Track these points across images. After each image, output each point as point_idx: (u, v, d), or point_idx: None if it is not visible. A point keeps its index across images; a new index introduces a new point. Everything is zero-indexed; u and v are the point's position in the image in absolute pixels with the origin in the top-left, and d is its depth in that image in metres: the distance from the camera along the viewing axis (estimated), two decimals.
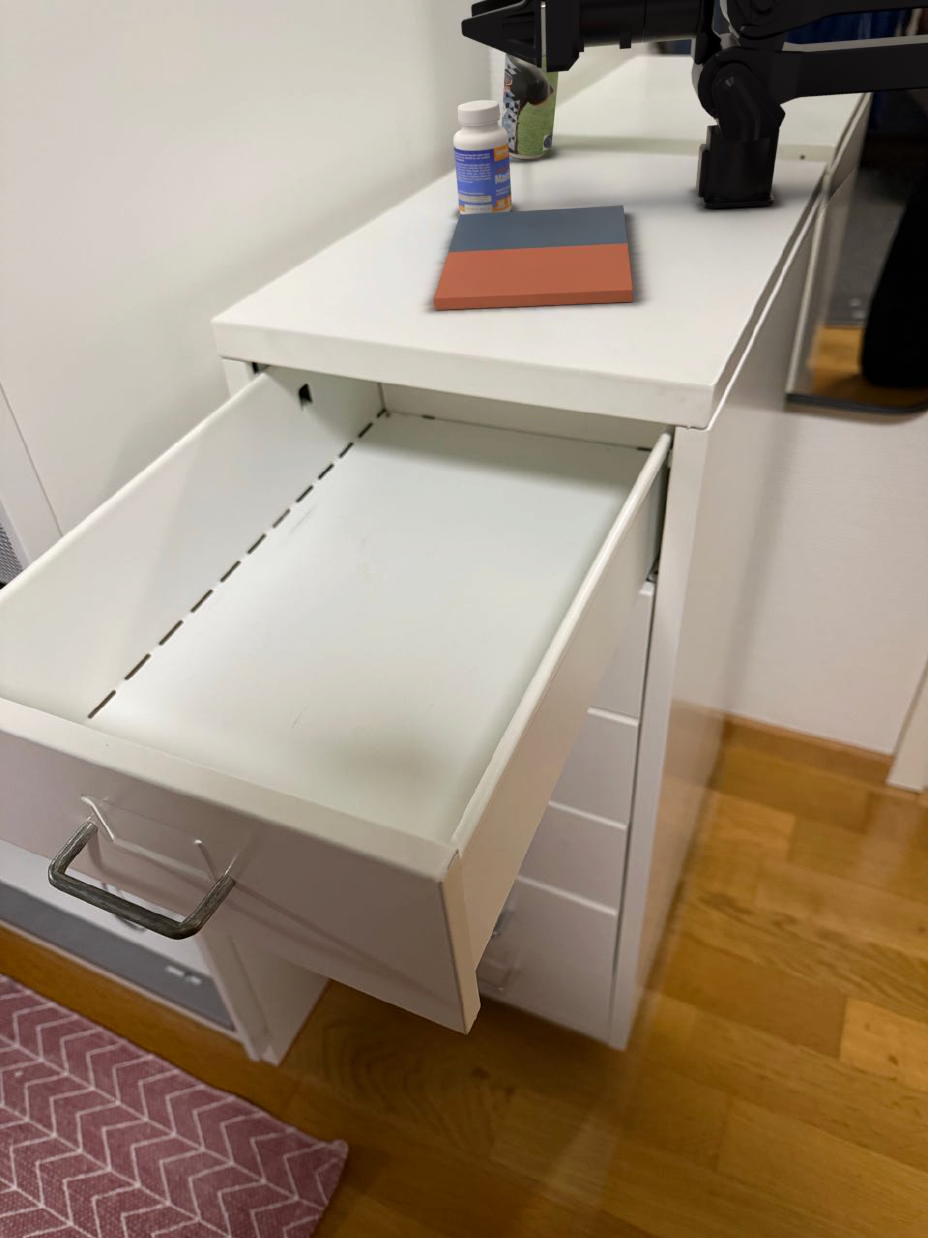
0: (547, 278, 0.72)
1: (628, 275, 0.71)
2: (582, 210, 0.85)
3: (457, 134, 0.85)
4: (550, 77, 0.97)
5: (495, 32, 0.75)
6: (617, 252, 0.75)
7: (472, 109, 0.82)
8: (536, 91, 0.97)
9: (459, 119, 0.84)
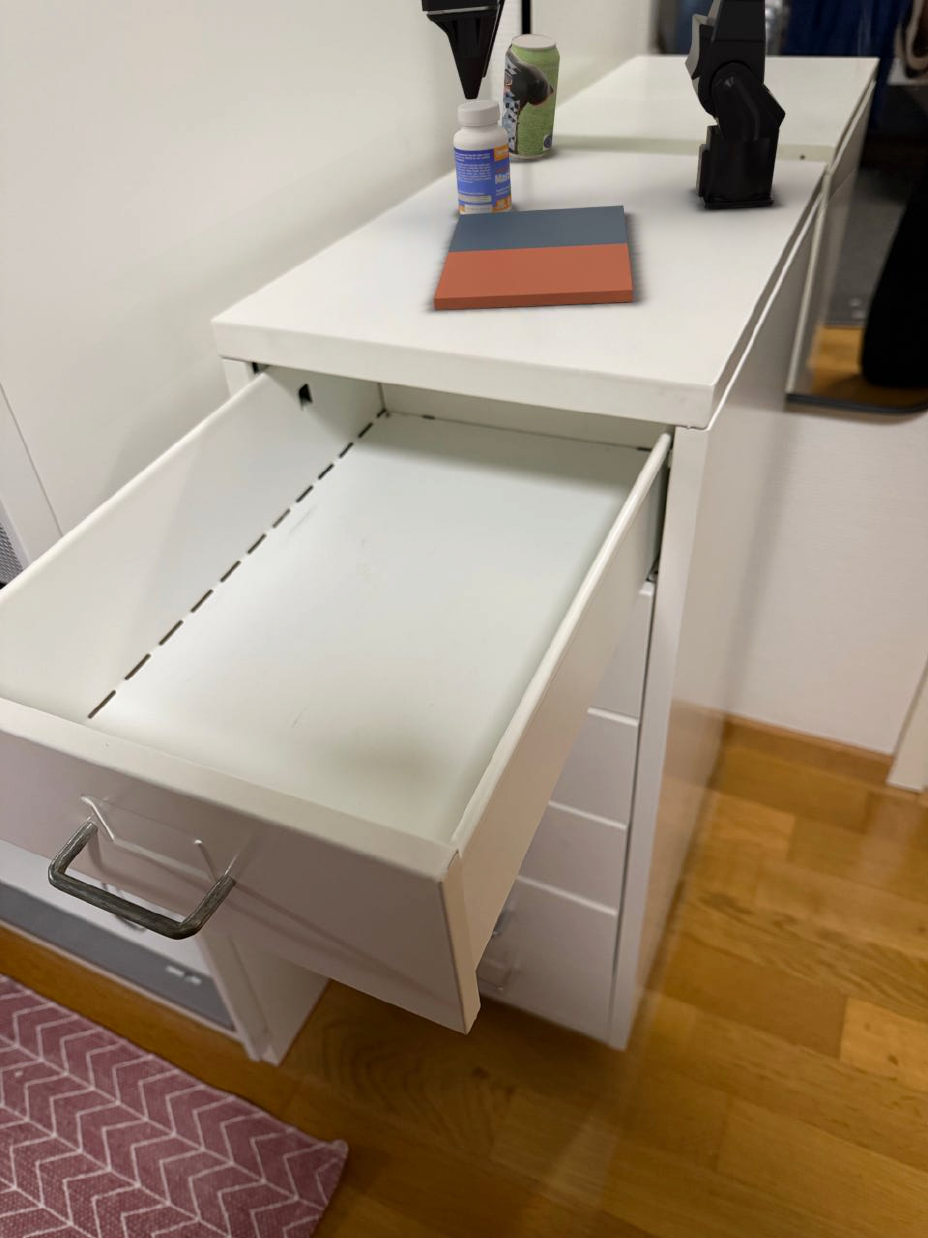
0: (547, 278, 0.72)
1: (628, 275, 0.71)
2: (582, 210, 0.85)
3: (457, 134, 0.85)
4: (550, 77, 0.97)
5: (472, 62, 0.76)
6: (617, 252, 0.75)
7: (472, 109, 0.82)
8: (536, 91, 0.97)
9: (459, 119, 0.84)
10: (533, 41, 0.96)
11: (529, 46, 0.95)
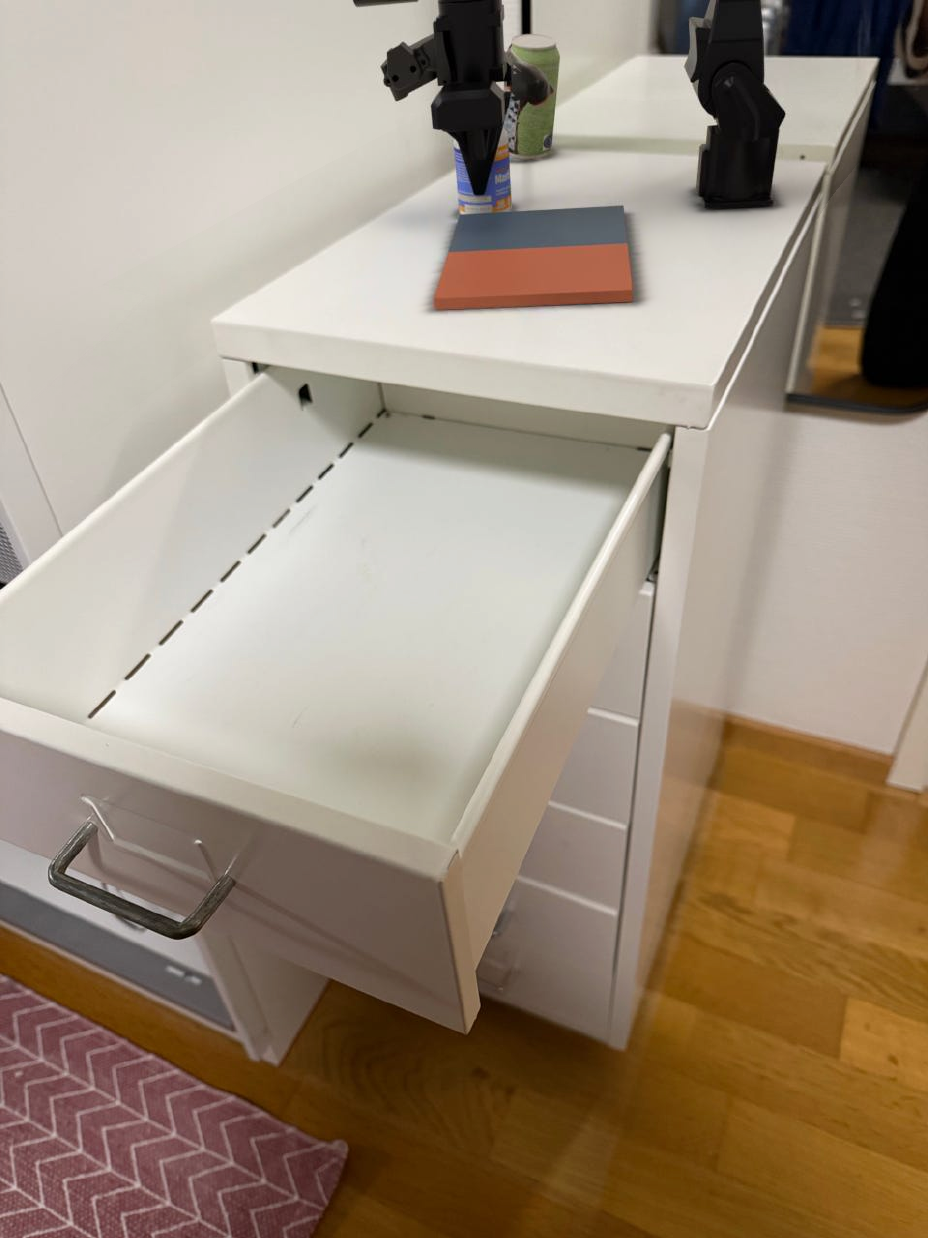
0: (547, 278, 0.72)
1: (628, 275, 0.71)
2: (582, 210, 0.85)
3: None
4: (550, 77, 0.97)
5: (480, 164, 0.83)
6: (617, 252, 0.75)
7: None
8: (536, 91, 0.97)
9: None
10: (533, 41, 0.96)
11: (529, 46, 0.95)
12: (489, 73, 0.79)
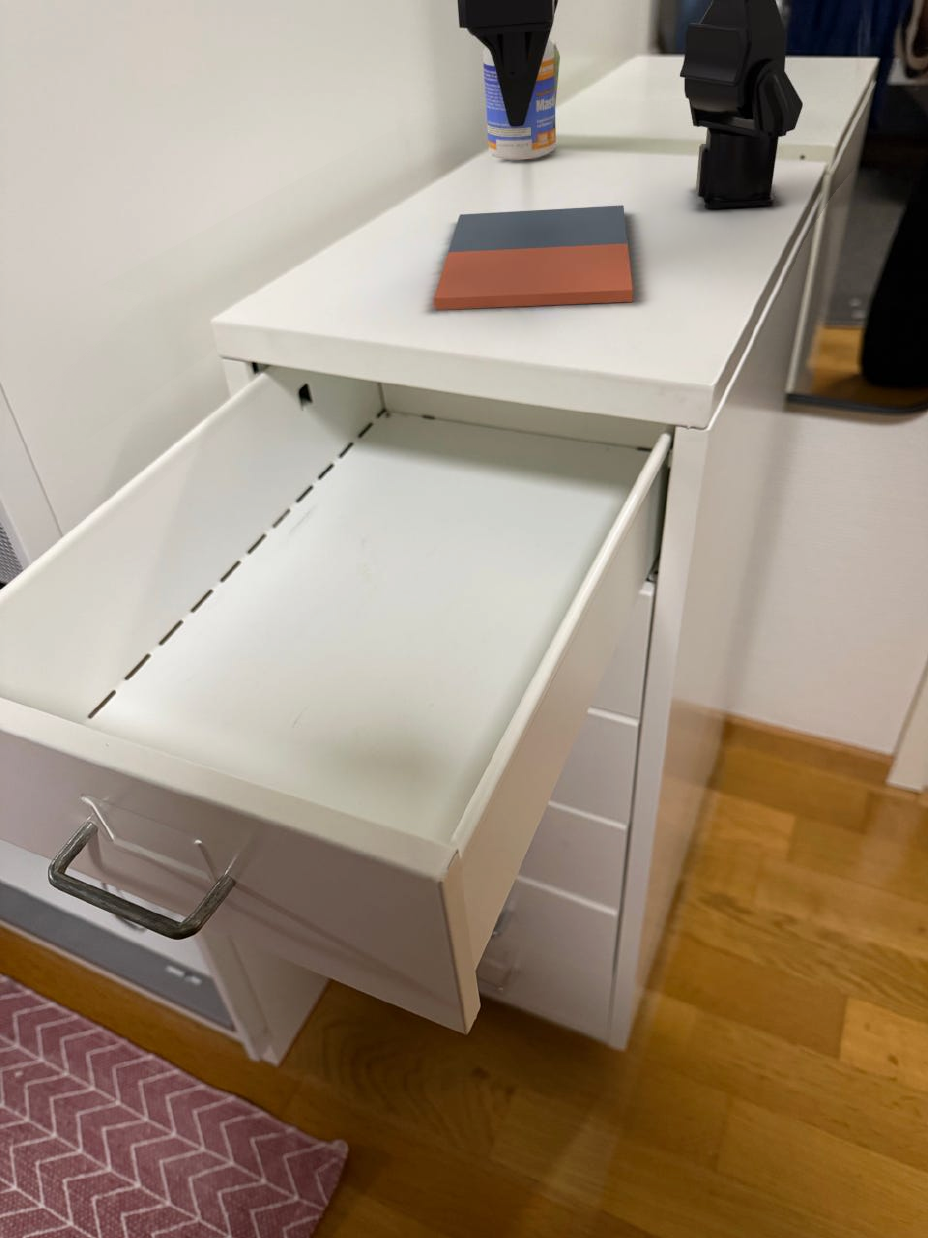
0: (547, 278, 0.72)
1: (628, 275, 0.71)
2: (582, 210, 0.85)
3: None
4: None
5: (519, 83, 0.64)
6: (617, 252, 0.75)
7: None
8: None
9: None
10: None
11: None
12: None
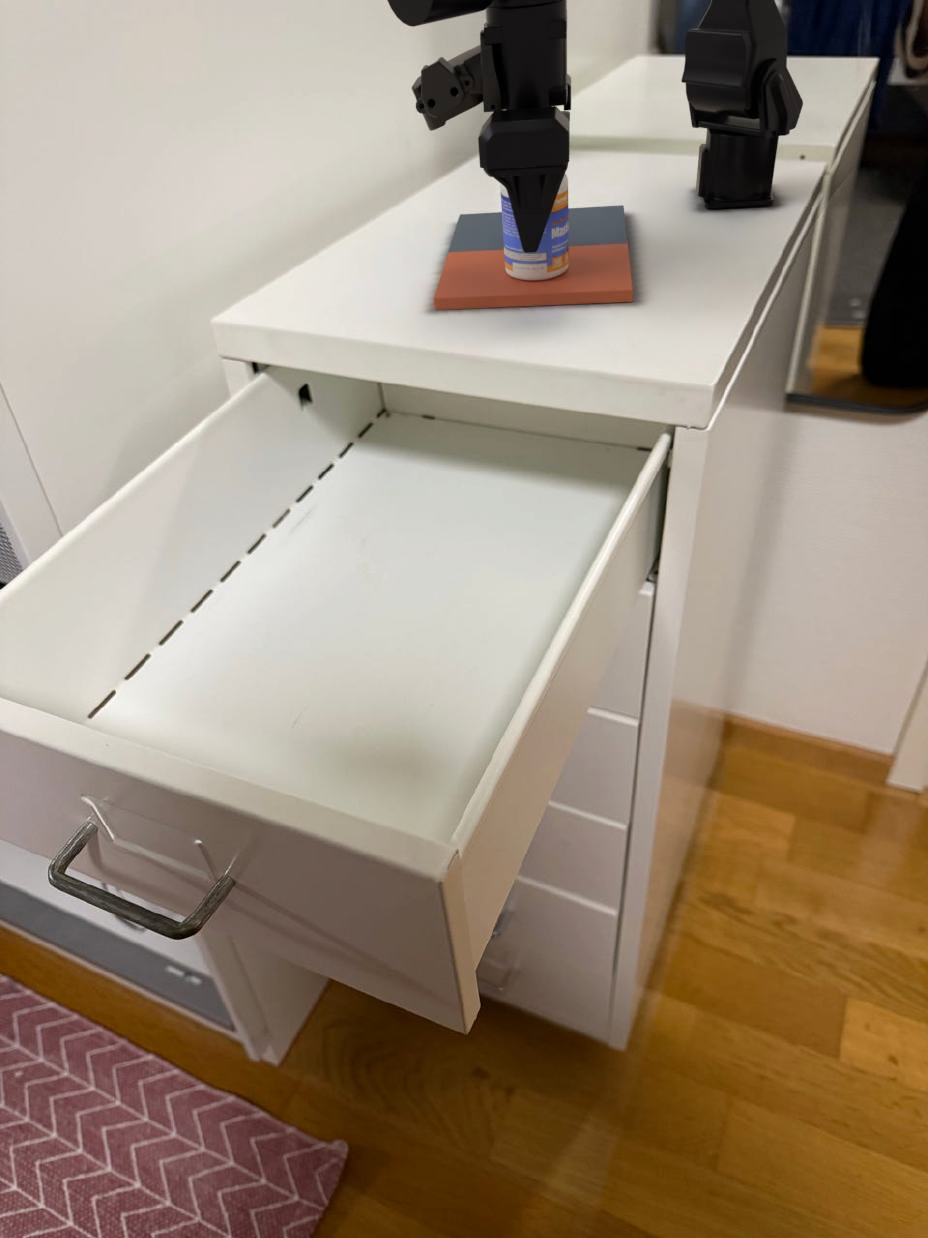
0: None
1: (628, 275, 0.71)
2: (582, 210, 0.85)
3: None
4: None
5: (533, 215, 0.66)
6: (617, 252, 0.75)
7: None
8: None
9: None
10: None
11: None
12: (549, 96, 0.63)
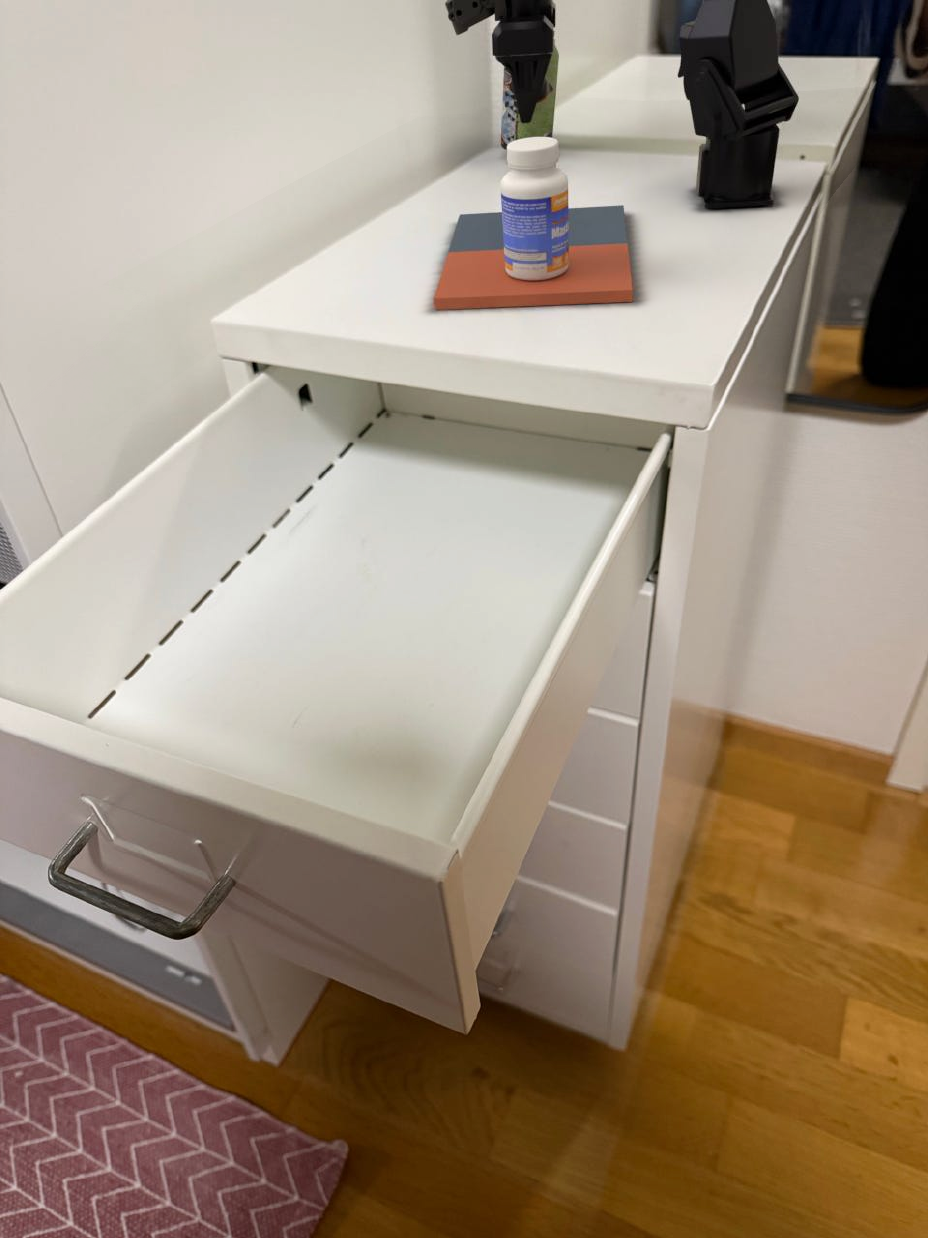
0: None
1: (628, 275, 0.71)
2: (582, 210, 0.85)
3: (506, 179, 0.69)
4: (549, 75, 0.97)
5: (528, 93, 0.95)
6: (617, 252, 0.75)
7: (526, 149, 0.66)
8: None
9: (509, 161, 0.68)
10: None
11: None
12: (539, 10, 0.92)
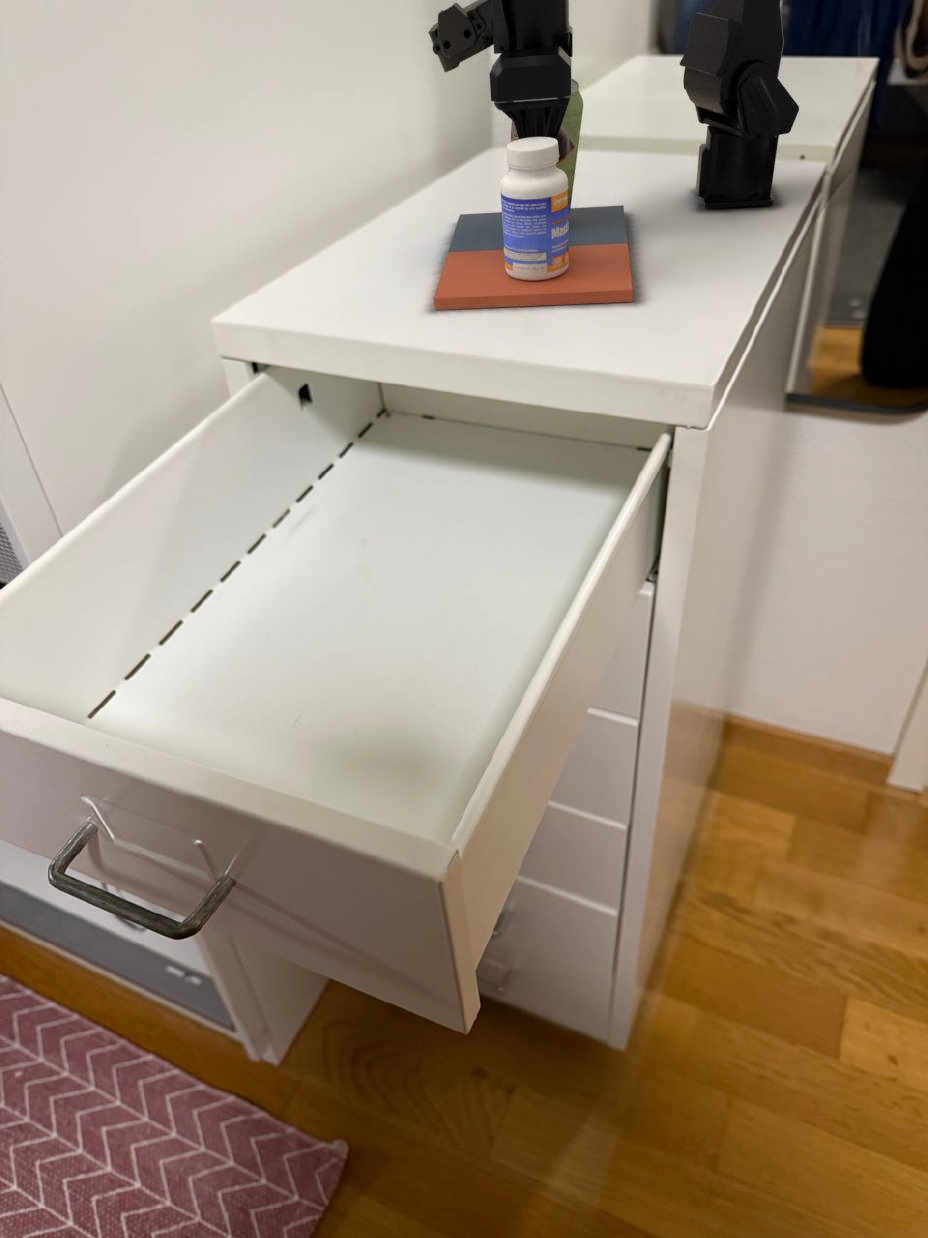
0: None
1: (628, 275, 0.71)
2: (582, 210, 0.85)
3: (506, 179, 0.69)
4: (570, 131, 0.75)
5: None
6: (617, 252, 0.75)
7: (526, 149, 0.66)
8: None
9: (509, 160, 0.68)
10: None
11: None
12: (553, 39, 0.70)
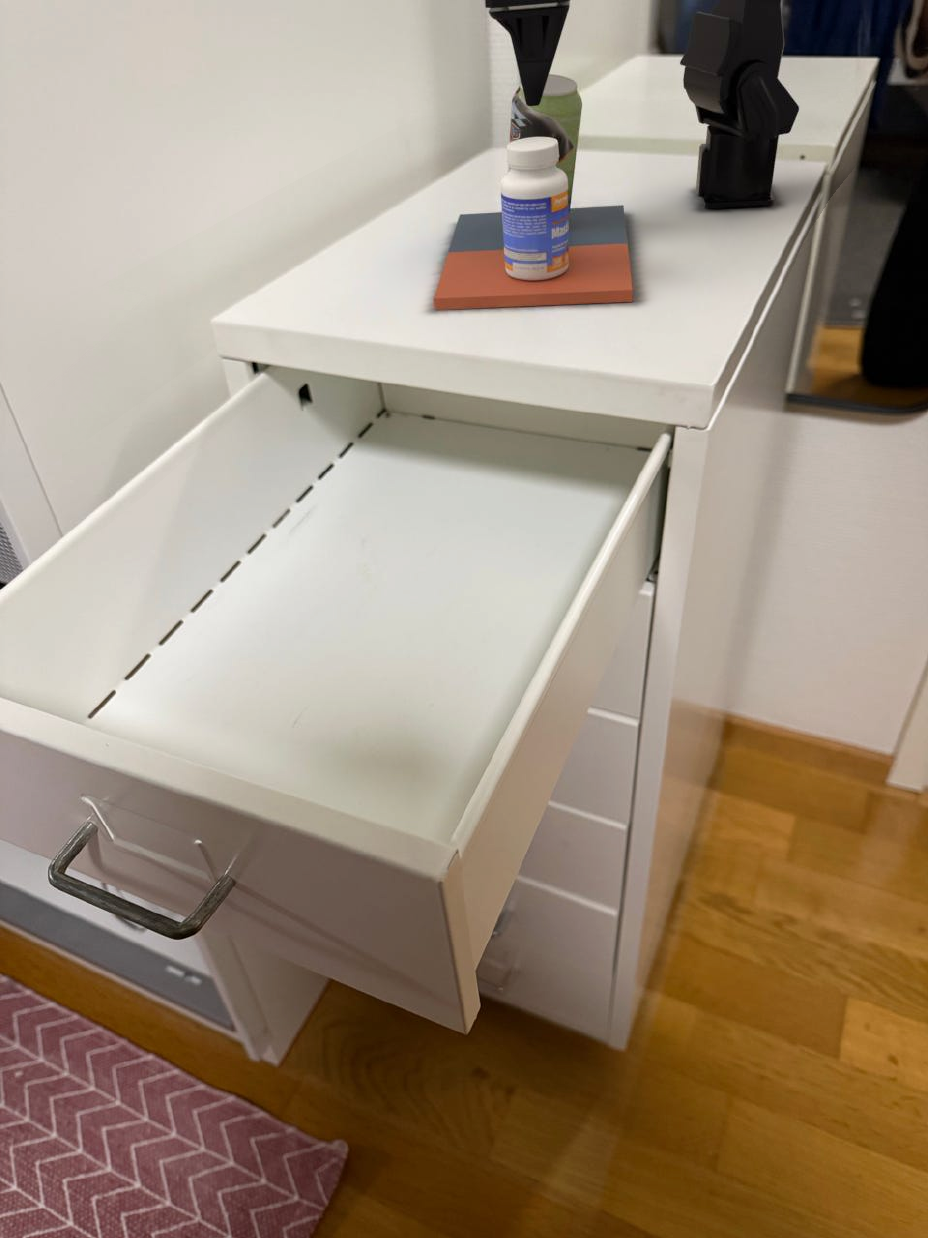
0: None
1: (628, 275, 0.71)
2: (582, 210, 0.85)
3: (506, 179, 0.69)
4: (569, 131, 0.75)
5: (536, 64, 0.69)
6: (617, 252, 0.75)
7: (526, 149, 0.66)
8: None
9: (509, 161, 0.68)
10: (548, 84, 0.74)
11: None
12: None
